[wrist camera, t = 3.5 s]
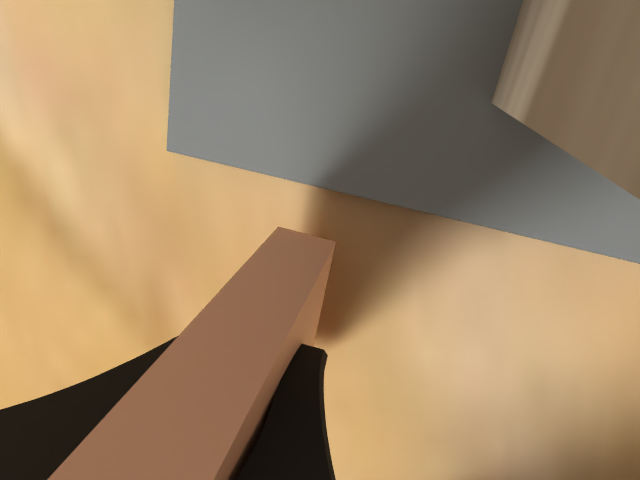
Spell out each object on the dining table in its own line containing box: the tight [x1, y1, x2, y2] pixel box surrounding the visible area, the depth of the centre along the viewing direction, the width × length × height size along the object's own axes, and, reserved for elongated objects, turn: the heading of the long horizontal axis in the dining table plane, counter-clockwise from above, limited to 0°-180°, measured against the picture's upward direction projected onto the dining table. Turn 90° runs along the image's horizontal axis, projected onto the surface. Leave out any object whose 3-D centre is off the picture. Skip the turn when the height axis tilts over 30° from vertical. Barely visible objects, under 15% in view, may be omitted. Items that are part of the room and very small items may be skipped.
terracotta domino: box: [47, 227, 336, 480], centre depth 9 cm, size 2×5×9 cm, turn 170°
